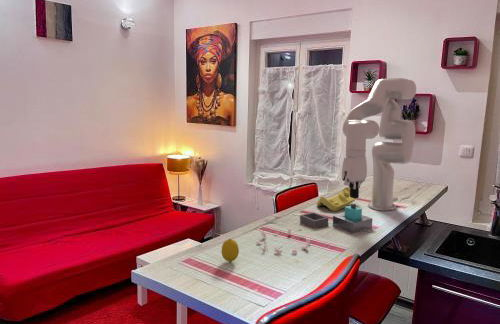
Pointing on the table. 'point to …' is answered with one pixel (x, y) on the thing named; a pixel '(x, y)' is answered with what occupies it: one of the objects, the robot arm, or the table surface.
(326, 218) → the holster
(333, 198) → the plastic component
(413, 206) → the table surface
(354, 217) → the plug
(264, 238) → the game piece set
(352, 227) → the port
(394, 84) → the robot arm
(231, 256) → the lemon
